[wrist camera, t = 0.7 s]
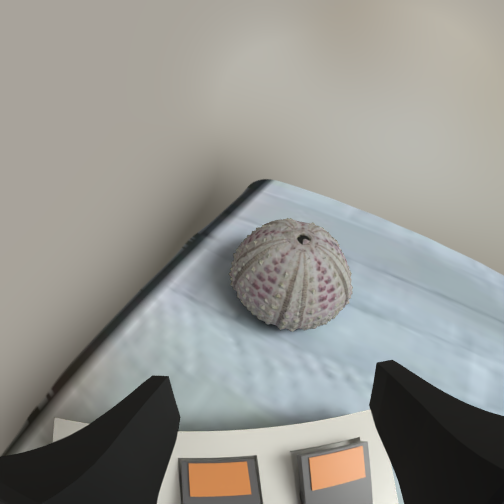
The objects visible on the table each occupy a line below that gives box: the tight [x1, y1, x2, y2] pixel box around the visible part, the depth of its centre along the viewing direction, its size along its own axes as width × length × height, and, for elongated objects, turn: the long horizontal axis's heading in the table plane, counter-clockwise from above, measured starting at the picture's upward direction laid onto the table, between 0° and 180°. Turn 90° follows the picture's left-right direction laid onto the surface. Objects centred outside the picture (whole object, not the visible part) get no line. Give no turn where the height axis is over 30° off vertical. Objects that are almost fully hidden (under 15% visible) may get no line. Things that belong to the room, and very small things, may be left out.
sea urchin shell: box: [229, 218, 353, 332], centre depth 31 cm, size 13×14×8 cm
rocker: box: [297, 441, 373, 504], centre depth 15 cm, size 7×5×2 cm
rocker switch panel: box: [53, 409, 398, 504], centre depth 16 cm, size 12×26×4 cm, turn 96°
